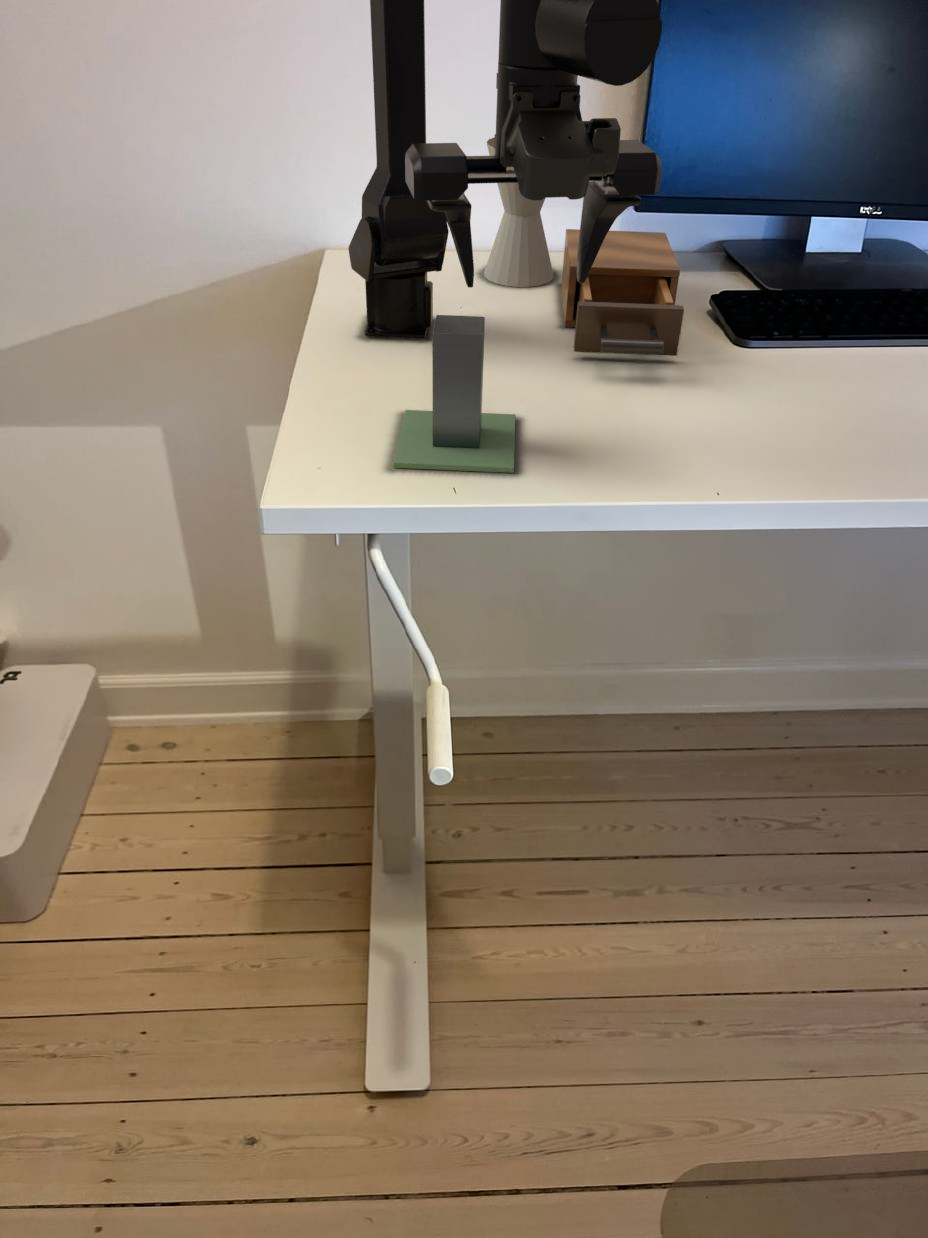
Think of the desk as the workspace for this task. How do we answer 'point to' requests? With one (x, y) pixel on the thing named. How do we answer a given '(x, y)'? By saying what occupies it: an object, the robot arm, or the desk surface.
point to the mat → (488, 457)
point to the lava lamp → (518, 240)
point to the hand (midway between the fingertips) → (525, 283)
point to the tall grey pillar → (457, 380)
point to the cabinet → (619, 262)
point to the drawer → (627, 316)
